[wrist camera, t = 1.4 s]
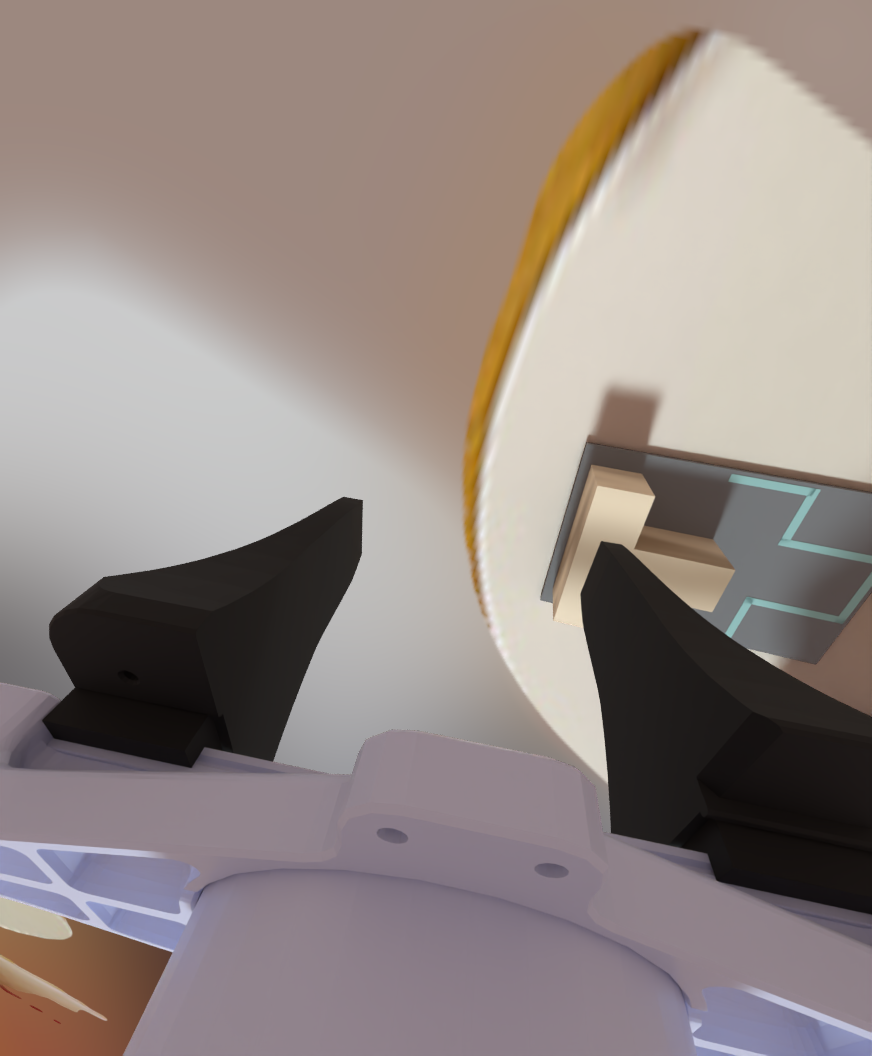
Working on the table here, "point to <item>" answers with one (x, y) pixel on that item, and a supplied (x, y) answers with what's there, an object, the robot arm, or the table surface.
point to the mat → (756, 546)
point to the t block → (635, 545)
